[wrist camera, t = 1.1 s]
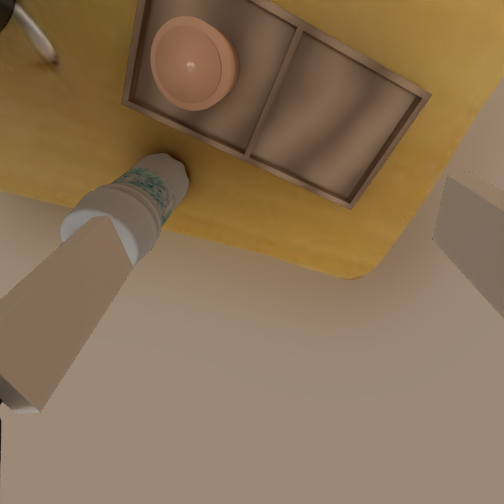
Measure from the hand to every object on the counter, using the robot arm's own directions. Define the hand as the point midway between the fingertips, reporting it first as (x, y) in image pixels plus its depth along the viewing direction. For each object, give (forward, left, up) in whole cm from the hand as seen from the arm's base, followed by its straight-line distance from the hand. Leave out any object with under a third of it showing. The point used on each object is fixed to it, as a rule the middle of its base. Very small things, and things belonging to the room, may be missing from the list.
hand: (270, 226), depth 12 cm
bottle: (-9, -11, -24) cm, 28 cm away
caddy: (-1, +2, -24) cm, 24 cm away
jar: (-8, +2, -23) cm, 24 cm away
